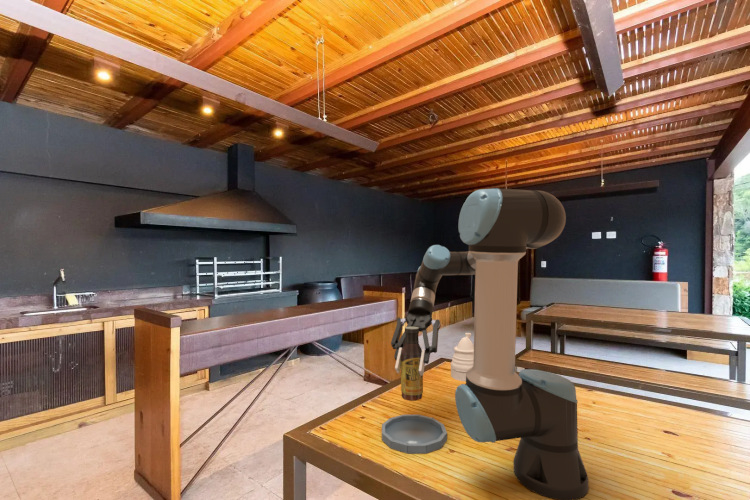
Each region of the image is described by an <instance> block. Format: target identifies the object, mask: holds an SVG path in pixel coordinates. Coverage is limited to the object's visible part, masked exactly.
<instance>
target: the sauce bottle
mask: <svg viewBox="0 0 750 500" xmlns="http://www.w3.org/2000/svg"><path fill="white" fill-rule="evenodd" d="M404 331H405V333H406V340H405V345H404V347H403V350H402V360H401V368H400V385H401V386H400V391H401V398H402V399H403V400H406V401H410V402H411V401H412V402H413V401H414V402H415V401H419V400H422V398H423V393H424V375H423V376H420V373H419V365H420V359H421V354H422V349H423V348H422V347H421V345H420V341H419V333H420V331H419V328H418V327H407V326H406V327H404Z"/></svg>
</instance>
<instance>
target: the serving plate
mask: <svg viewBox="0 0 750 500" xmlns="http://www.w3.org/2000/svg"><path fill="white" fill-rule="evenodd" d="M447 441H448V432H447V430H446V426H445V424H443V423H442V422H441V421H439V420H437V419H436V418H434V417H431V416H427V415H422V414H401V415H400V414H399V415H396V416H393V417H389V418H388V419H387V420H385V422H383V423H382V424H381V442H383V443H384V444H385V445H387V447H389V449H391V450H395V451H398V452H401V453H405V454H409V455H410V454H418V455H420V454H429V453H432V452H434V451H438V450H440V449H442V448H443V446H444V445H445V443H447Z"/></svg>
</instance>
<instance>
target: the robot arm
mask: <svg viewBox="0 0 750 500" xmlns="http://www.w3.org/2000/svg"><path fill="white" fill-rule="evenodd" d="M566 215H567V214H566V211H565V208H564V206H563V203H561V201H560V200H559V199H558V198H556V196H555V195H553V194H551V193H549V192H547V191H545V190H544V191H543V190H536V189H531V190H530V189H528V190H527V189H513V188H512V189H511V188H497V187H495V188H483V189H482V188H481V189H477V190H474V191H473V192H472V193H470V194H469V195H468V196H467V198H466V200H465V202H464V203H463V205H462V207H461V209H460V212H459V216H458V217H459V218H458V226H457V227H458V233H459V237H460V240H461V241H462V242H463V243H464V244H466V245H468V251H450V250H449V249H448V248H447V247H445V246H443V245H440V244H433V245H431V246H429V247H428V248H427V250H426V252H425V254H424V256H423V259H422V262H421V265H420V266H419V267H418V269H417V271H416V274H415V280H414V285H413V289H412V293H411V298H410V303H409V306H408V311H407V315H406V316H405V317H404V318H401V317H396V326H395V328H394V332H393V336H392V338H391V341H390V345H391V347H392V349H393V350H395V352H394V361H396V362H395V365H394V369H395V371H396V374H401V360H402V350H403V347H404V345H405V340H406V333H405V330H404V331H403V333H402V330H403V327H404V326H405V323H406V324H407V325H406V327H418V328H419V333H420V332H421V334H422V338H423V343H424V344H423V345H424V349H423V348H421V349H422V354H421V359H420V365H419V373H420V376H423V377H424V373H425V365H426V364H427V365H429V362H430V358H431V357H430V356H431V354H433V353H434V354H436V353H437V352H438V343H439V342H438V341H439V330H440V328H441V326H442V325H441V320H440V319H433V312H434V305H435V300H436V292H437V288H438V285H439V283H440V280H441V278H442V277H443V276H471V275H472V276H475V277H474V278H475V279H474V314H473V316H474V319H473V321H474V322H473V323H474V324H473V345H474V357H473V367H472V368H470V369H469V370H468V371H467V372H466V382H465V383H461V384H460V385H458V386H457V387H456V389H455V392H454V398H455V406H456V411H457V414H458V415H457V416H458V417H459V420H460V422H461V425H462V427H463V429H464V431H465V432H466V434H467V435H468V436H469V438H471V439H472V440H473V441H475V442H477V443H496V442H500V441H507V440H513V439H514V440H515V439H519V441H518V445H517V447H516V452H515V454H514V457H513V462H512V463H513V474H514V477H515V478H516V479H517V481H518V482H519V483H520V484H521V485H523V486H524V487H525V488H527V489H528V490H530V491H532V492H533V493H536V494H538V495H541V496H542V497H546V498H550V499H554V500H572V499H575V500H578V498H579V499H581V498H580V497H582V498H583V497H585V496H586V495H587V494H588V492H589V489H590V488H589V486H590V485H589V475H588V473H587V469H586V467H585V464H584V462H583V459H582V457H581V453H580V451H579V443H578V440H579V439H578V438H579V437H578V403H579V402H578V399H577V392H576V390H577V389H576V387H575V384H574V382H572V381H571V380H570V379H568V378H566V377H564V376H562V375H559V374H556V373H552V372H550V371H545V370H540V369H530V368H528V369H524V368H523V369H521V370H520V371H519V372H518V373H519V374H518V373H517V372H516V371H515V370H516V341H517V340H516V337H517V332H516V331H517V308H518V307H517V306H518V305H517V303H518V300H517V299H518V275H519V274H518V273H519V271H518V267H519V261H520V259H522V258H523V257H524V256H526V253H527V249H531V250H533V249H534V250H535V249H539V248H541V247H544V246H546V245H548V244H549V243H551V242H553V241H554V240H556V239H557V238H558V237H560V235H561V234H562V232H563V230H564V228H565V225H566V221H567V219H566V218H567V216H566ZM431 325H432V338H431V346H430V342H429V336H428V331H427V329H428V328H429V327H431ZM401 334H402V335H401ZM586 493H587V494H586ZM584 495H585V496H584Z"/></svg>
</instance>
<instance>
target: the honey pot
mask: <svg viewBox="0 0 750 500" xmlns="http://www.w3.org/2000/svg"><path fill="white" fill-rule="evenodd" d="M464 335H465V336H463V337H461V339H460V340H459V341H458V343H457V345H456V346H454V347H453V351H454V353H453V355H452V359H451V360H452V361H451V362H450V376H451V378H452V379H453V380H456V381H461V382H465V383H466V372H467V371H468V370H469V369H470V368H472V367H473V357H474V342H472V340H471V339H470V338H471V336H472V333H471V332H465V334H464Z"/></svg>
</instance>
